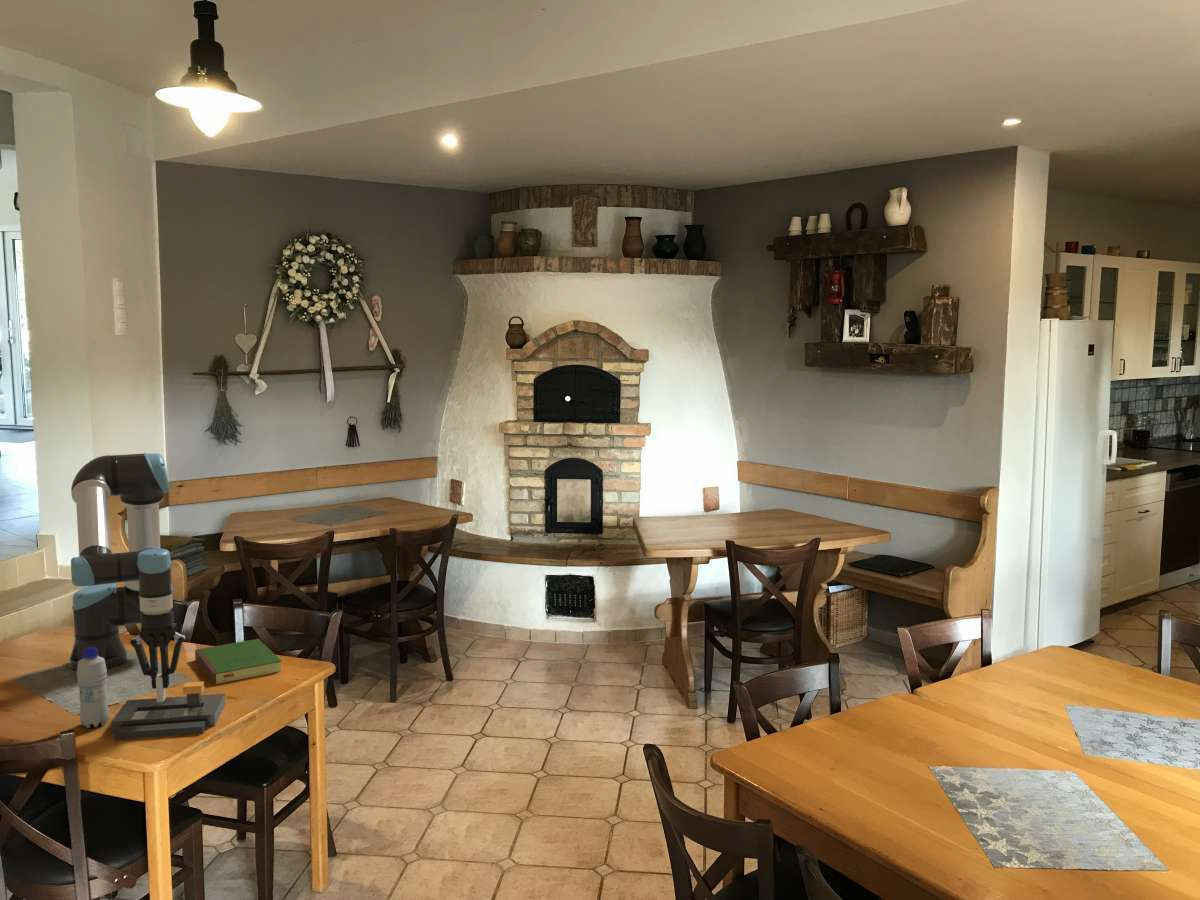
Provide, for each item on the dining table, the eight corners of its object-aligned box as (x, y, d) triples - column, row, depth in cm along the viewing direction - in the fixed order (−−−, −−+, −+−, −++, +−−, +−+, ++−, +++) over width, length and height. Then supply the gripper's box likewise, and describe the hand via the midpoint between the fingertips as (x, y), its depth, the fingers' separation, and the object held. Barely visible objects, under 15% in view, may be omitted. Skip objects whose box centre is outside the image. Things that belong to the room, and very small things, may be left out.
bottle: (97, 731, 233) (92, 653, 230) (73, 728, 234) (68, 651, 232) (116, 720, 239) (111, 644, 237) (93, 717, 241) (88, 642, 238)
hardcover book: (195, 661, 284) (195, 649, 283) (259, 650, 295) (258, 638, 294) (215, 687, 264) (214, 674, 263) (282, 674, 274) (282, 661, 274)
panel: (127, 711, 245) (127, 699, 245) (225, 704, 250) (224, 692, 250) (111, 733, 232) (110, 721, 231) (214, 725, 236) (214, 713, 236)
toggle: (186, 708, 243) (185, 682, 242) (204, 707, 244) (203, 681, 243) (184, 712, 240) (182, 686, 239) (202, 711, 241) (201, 685, 240)
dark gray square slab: (139, 706, 248) (138, 699, 248) (219, 700, 252) (219, 694, 252) (115, 740, 228) (114, 732, 228) (202, 733, 232) (202, 726, 232)
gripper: (124, 616, 232) (129, 707, 235) (180, 613, 235) (185, 703, 238) (132, 607, 239) (137, 696, 242) (187, 605, 242) (191, 692, 245)
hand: (161, 699), depth 240 cm, fingers closed
